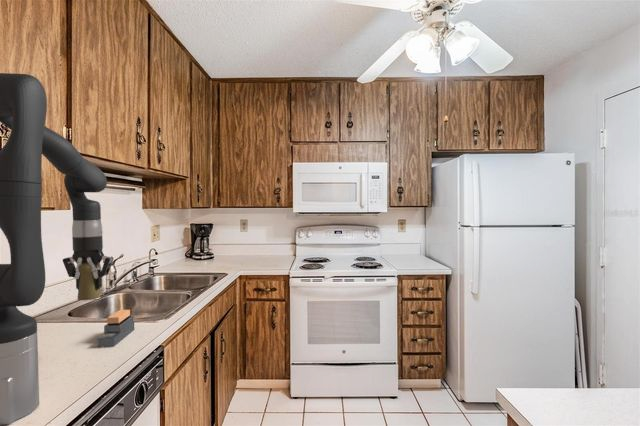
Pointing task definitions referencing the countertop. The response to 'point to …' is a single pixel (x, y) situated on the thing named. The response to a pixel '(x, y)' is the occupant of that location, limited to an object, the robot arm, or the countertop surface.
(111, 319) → the orange button
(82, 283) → the cork
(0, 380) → the robot arm
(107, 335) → the grey slotted housing
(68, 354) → the countertop surface
